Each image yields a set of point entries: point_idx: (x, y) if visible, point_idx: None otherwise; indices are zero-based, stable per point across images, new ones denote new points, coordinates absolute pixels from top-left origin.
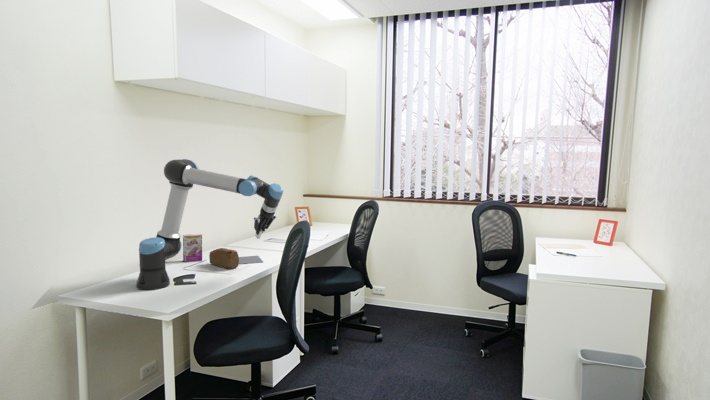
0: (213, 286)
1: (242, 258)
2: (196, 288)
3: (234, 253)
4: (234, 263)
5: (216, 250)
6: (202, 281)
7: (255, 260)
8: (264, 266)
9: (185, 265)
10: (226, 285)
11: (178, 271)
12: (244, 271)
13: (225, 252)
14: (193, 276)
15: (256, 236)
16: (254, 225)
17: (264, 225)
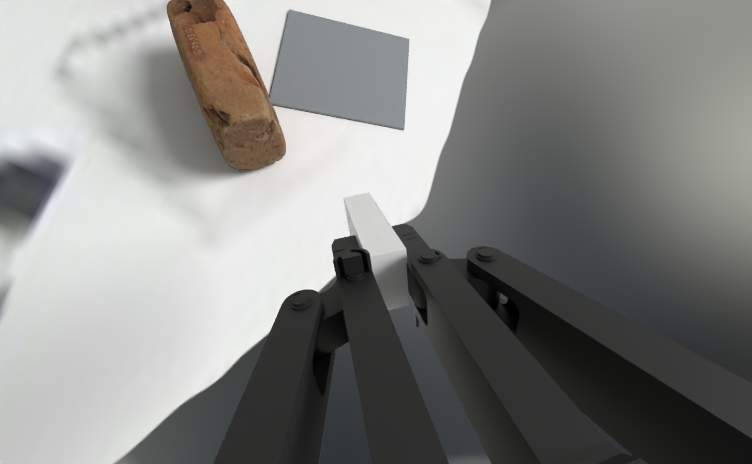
0: (44, 435)
1: (344, 46)
2: None
3: (248, 126)
4: (258, 158)
5: (174, 31)
6: (36, 310)
7: (381, 96)
8: (390, 189)
9: (91, 19)
10: (117, 441)
11: (14, 89)
12: (290, 225)
13: (200, 98)
14: (39, 201)
15: (348, 221)
16: (254, 383)
17: (462, 402)
